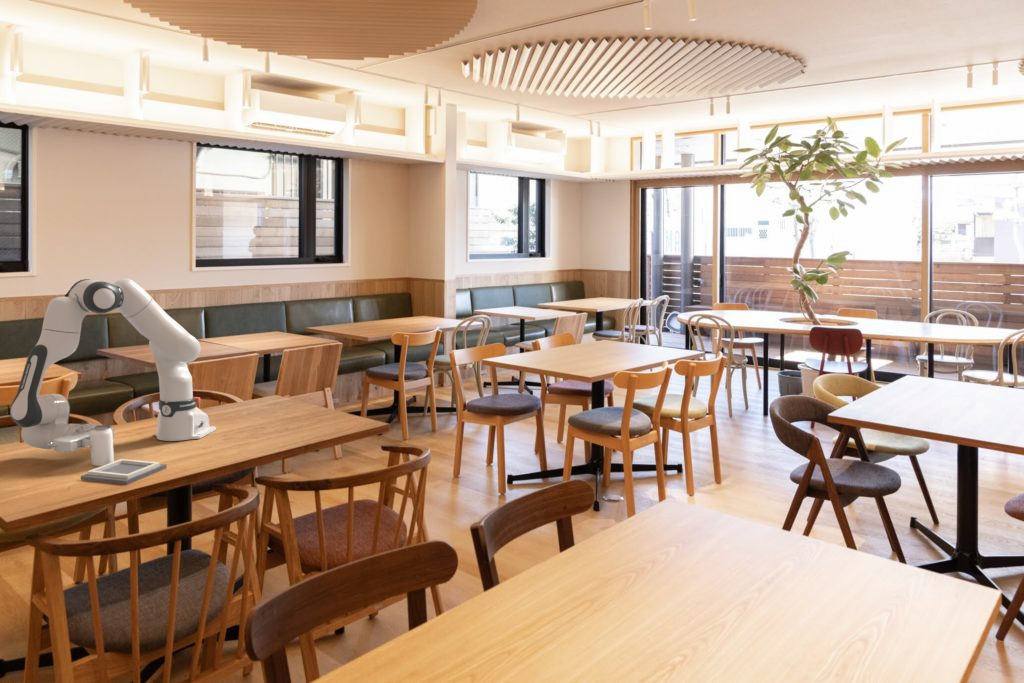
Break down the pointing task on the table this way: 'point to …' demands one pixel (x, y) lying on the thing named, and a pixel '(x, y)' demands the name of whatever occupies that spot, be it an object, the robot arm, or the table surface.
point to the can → (101, 445)
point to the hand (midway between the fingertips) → (105, 440)
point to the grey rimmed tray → (123, 471)
